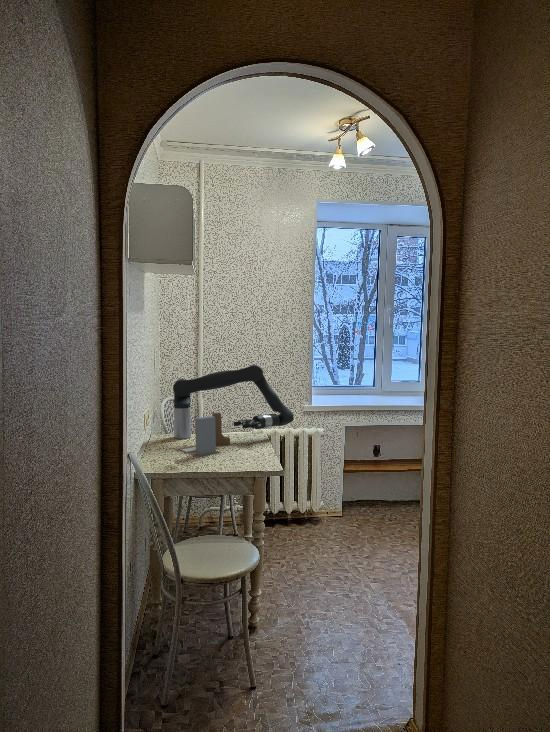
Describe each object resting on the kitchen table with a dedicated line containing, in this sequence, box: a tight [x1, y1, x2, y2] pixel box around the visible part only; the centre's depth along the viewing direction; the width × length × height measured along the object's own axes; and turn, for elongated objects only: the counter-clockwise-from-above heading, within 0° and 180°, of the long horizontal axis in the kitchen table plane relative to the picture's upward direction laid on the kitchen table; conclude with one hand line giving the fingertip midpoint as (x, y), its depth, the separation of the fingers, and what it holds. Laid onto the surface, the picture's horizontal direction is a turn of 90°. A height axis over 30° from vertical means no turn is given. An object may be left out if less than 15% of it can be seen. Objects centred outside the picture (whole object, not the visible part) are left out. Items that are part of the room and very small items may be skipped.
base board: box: [175, 445, 222, 458], centre depth 290 cm, size 22×14×1 cm, turn 39°
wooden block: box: [211, 412, 231, 447], centre depth 304 cm, size 9×4×18 cm, turn 100°
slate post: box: [194, 415, 217, 456], centre depth 284 cm, size 4×9×18 cm, turn 129°
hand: (238, 425), depth 311 cm, fingers open, 8 cm apart
